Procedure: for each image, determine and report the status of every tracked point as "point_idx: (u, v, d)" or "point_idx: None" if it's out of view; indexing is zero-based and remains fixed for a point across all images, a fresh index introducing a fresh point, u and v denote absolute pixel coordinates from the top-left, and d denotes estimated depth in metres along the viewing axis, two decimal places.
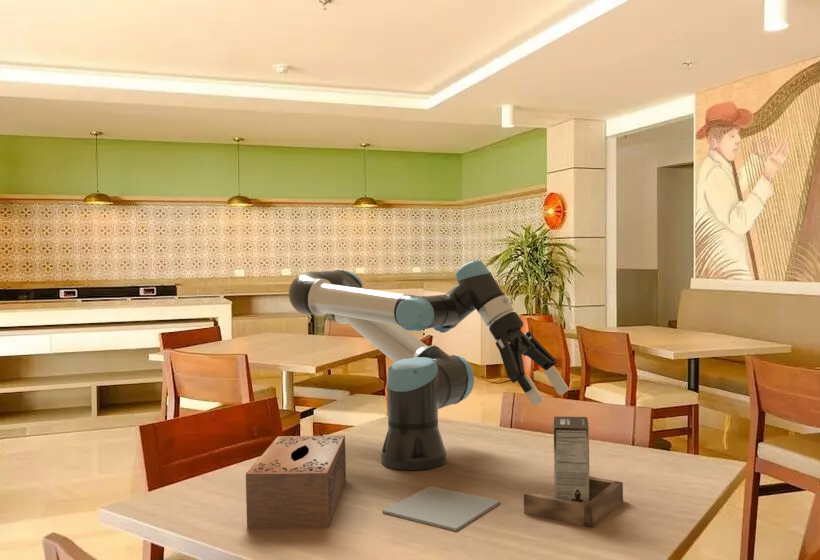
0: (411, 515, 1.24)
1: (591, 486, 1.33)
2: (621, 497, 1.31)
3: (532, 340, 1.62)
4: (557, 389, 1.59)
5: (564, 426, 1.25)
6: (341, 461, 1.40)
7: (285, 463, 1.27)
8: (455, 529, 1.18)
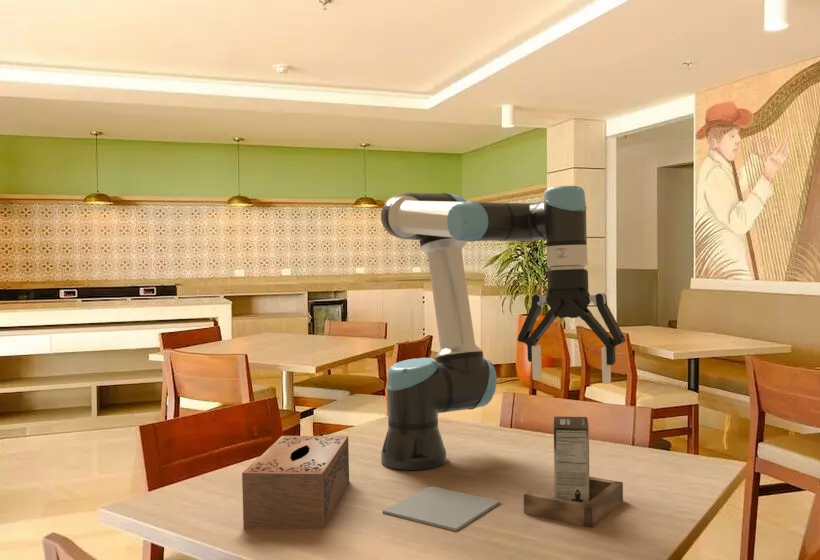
0: (411, 515, 1.24)
1: (591, 486, 1.33)
2: (621, 497, 1.31)
3: None
4: None
5: (564, 426, 1.25)
6: (343, 462, 1.39)
7: (283, 462, 1.27)
8: (455, 529, 1.18)
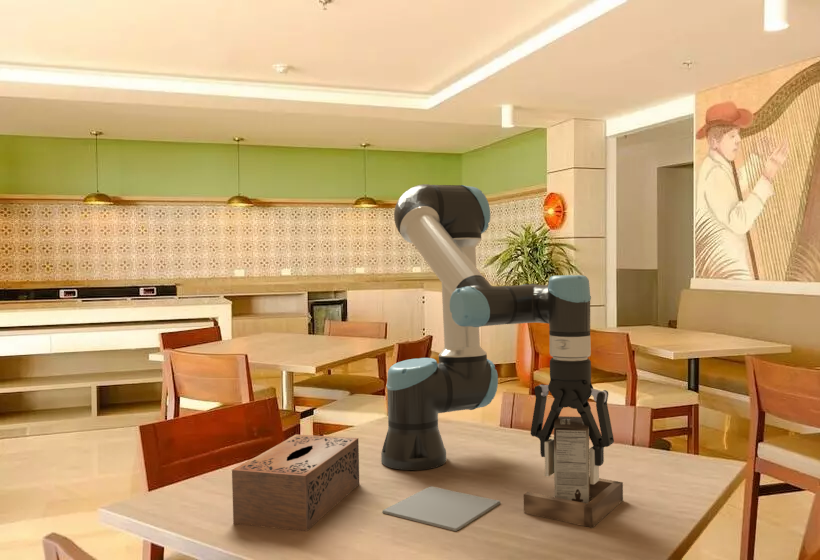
0: (411, 515, 1.24)
1: (591, 486, 1.33)
2: (621, 497, 1.31)
3: None
4: None
5: (564, 426, 1.25)
6: (347, 464, 1.38)
7: (277, 462, 1.28)
8: (455, 529, 1.18)
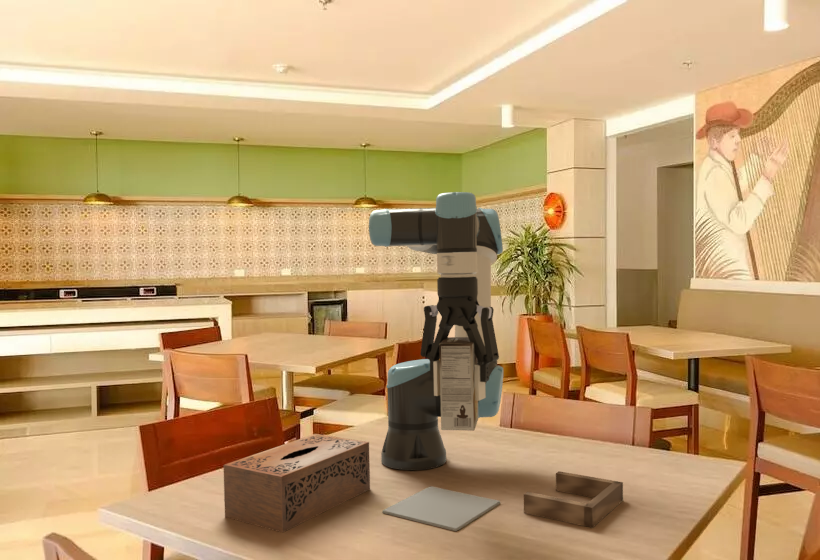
0: (411, 515, 1.24)
1: (591, 486, 1.33)
2: (621, 497, 1.31)
3: None
4: None
5: (449, 342, 1.25)
6: (350, 468, 1.35)
7: (270, 460, 1.29)
8: (455, 529, 1.18)
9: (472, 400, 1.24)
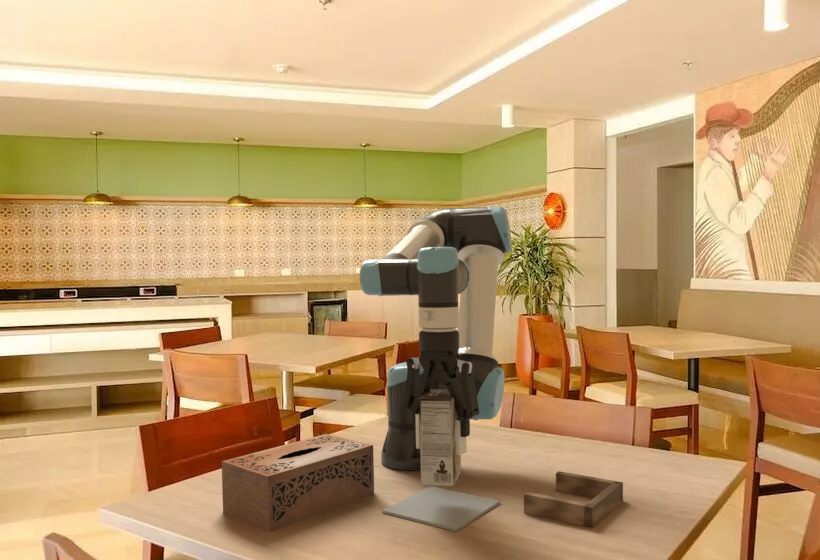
0: (411, 515, 1.24)
1: (591, 486, 1.33)
2: (621, 497, 1.31)
3: None
4: None
5: (429, 397, 1.25)
6: (350, 470, 1.34)
7: (267, 459, 1.30)
8: (455, 529, 1.18)
9: (452, 455, 1.24)
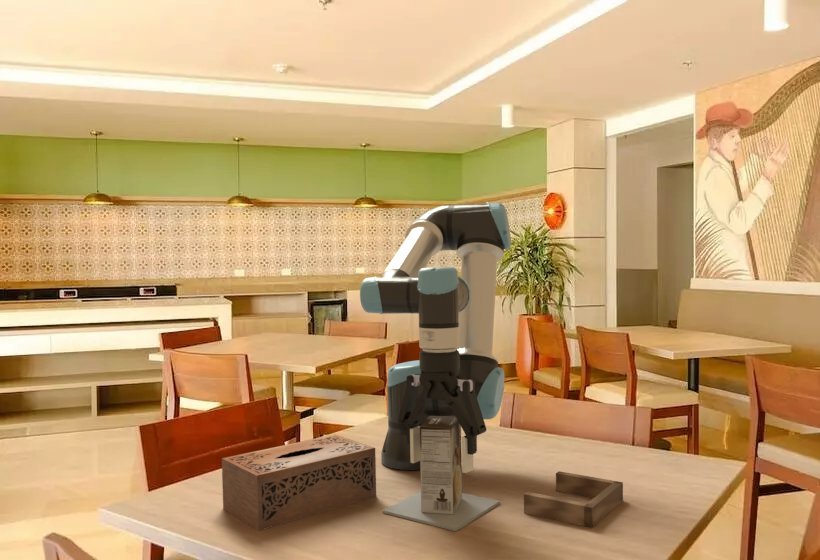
0: (411, 515, 1.24)
1: (591, 486, 1.33)
2: (621, 497, 1.31)
3: None
4: None
5: (430, 425, 1.25)
6: (348, 472, 1.32)
7: (266, 458, 1.30)
8: (455, 529, 1.18)
9: (452, 484, 1.24)
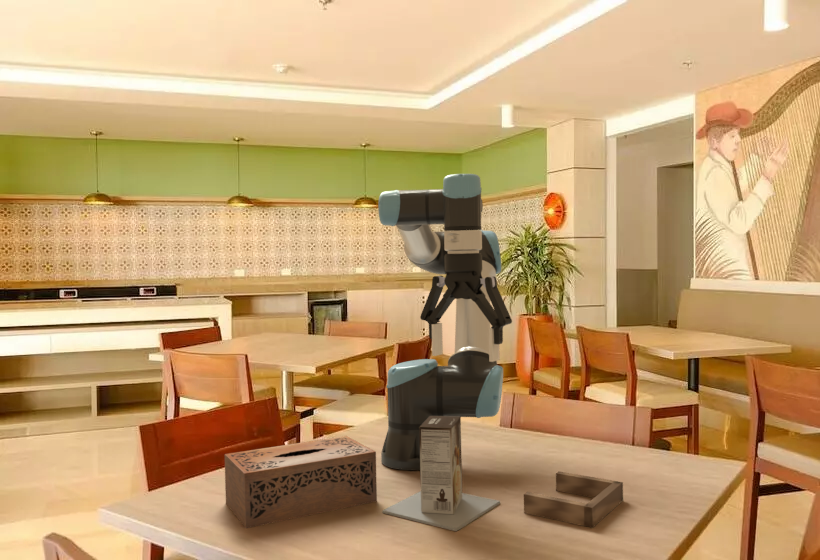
0: (411, 515, 1.24)
1: (591, 486, 1.33)
2: (621, 497, 1.31)
3: None
4: None
5: (430, 425, 1.25)
6: (345, 475, 1.30)
7: (264, 456, 1.32)
8: (455, 529, 1.18)
9: (451, 484, 1.24)
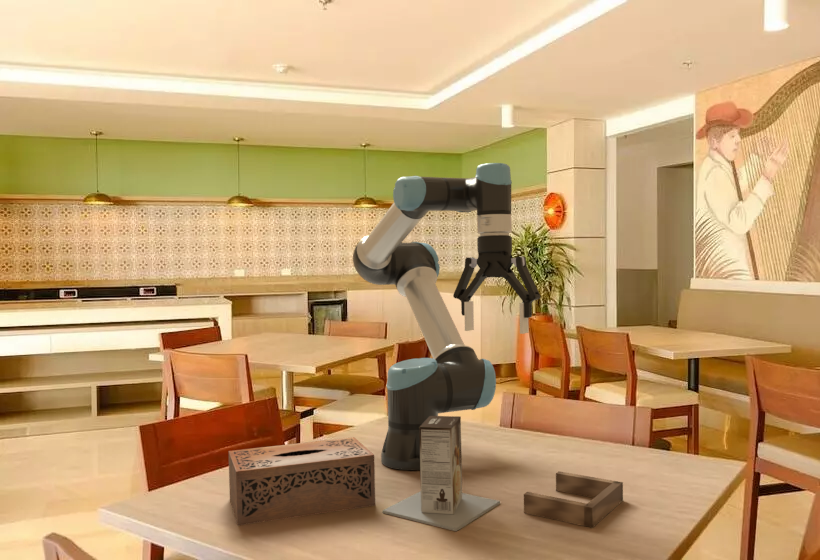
0: (411, 515, 1.24)
1: (591, 486, 1.33)
2: (621, 497, 1.31)
3: None
4: None
5: (430, 425, 1.25)
6: (341, 478, 1.29)
7: (264, 455, 1.33)
8: (455, 529, 1.18)
9: (451, 484, 1.24)
